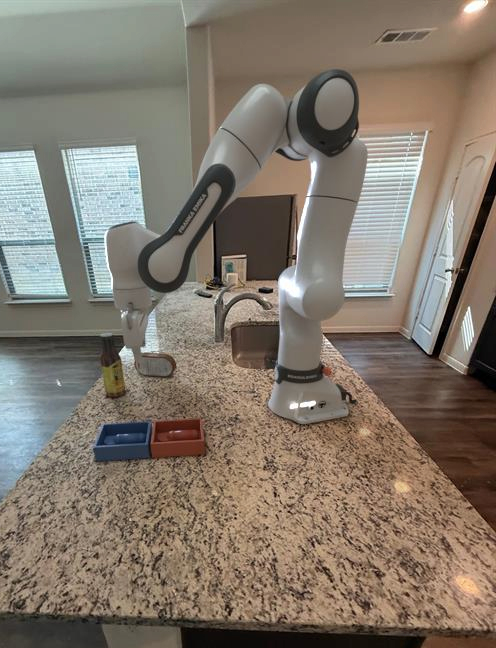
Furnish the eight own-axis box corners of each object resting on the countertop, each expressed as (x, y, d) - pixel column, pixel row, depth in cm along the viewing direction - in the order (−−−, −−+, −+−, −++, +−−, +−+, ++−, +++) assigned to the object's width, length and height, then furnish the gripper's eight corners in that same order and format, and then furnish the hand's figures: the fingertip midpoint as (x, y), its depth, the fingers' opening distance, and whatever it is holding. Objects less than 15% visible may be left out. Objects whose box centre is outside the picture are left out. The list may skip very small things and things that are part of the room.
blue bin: (152, 433, 82) (151, 420, 80) (149, 457, 73) (147, 444, 71) (104, 436, 81) (102, 423, 79) (95, 461, 73) (92, 447, 71)
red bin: (202, 430, 83) (201, 417, 81) (204, 454, 74) (204, 440, 72) (155, 433, 82) (153, 420, 80) (152, 457, 73) (150, 444, 71)
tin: (177, 374, 113) (175, 353, 109) (175, 378, 110) (173, 356, 106) (138, 372, 115) (135, 351, 112) (134, 376, 113) (131, 354, 109)
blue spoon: (148, 439, 79) (147, 429, 77) (146, 448, 76) (145, 438, 74) (106, 441, 78) (104, 431, 77) (103, 451, 75) (101, 441, 74)
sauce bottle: (120, 399, 98) (110, 338, 89) (102, 397, 99) (90, 337, 90) (129, 389, 104) (120, 331, 95) (112, 387, 105) (101, 330, 96)
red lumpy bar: (199, 436, 80) (198, 426, 78) (199, 444, 76) (199, 435, 75) (158, 438, 79) (157, 428, 78) (157, 447, 76) (156, 437, 74)
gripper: (141, 308, 65) (149, 368, 72) (149, 289, 84) (155, 339, 90) (111, 310, 65) (121, 370, 71) (125, 291, 83) (133, 340, 90)
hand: (140, 352), depth 81 cm, fingers open, 8 cm apart
